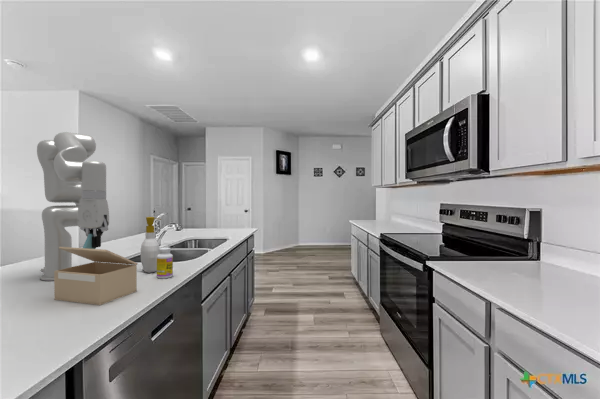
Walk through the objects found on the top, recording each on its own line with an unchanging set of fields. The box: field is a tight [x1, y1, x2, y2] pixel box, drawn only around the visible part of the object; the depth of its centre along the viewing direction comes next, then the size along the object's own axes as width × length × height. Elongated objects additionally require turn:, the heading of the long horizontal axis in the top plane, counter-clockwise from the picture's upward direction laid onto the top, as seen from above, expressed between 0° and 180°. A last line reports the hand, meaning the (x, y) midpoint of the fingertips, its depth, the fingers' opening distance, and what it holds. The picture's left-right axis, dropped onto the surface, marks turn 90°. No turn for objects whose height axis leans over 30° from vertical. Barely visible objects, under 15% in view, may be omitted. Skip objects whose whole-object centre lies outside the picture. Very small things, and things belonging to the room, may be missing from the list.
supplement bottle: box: [156, 247, 174, 279], centre depth 143 cm, size 7×7×13 cm
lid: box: [59, 234, 139, 265], centre depth 119 cm, size 21×16×6 cm
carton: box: [53, 261, 138, 306], centre depth 117 cm, size 20×16×10 cm
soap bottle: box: [140, 216, 162, 274], centre depth 155 cm, size 14×9×26 cm, turn 34°
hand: (94, 246), depth 115 cm, fingers closed
